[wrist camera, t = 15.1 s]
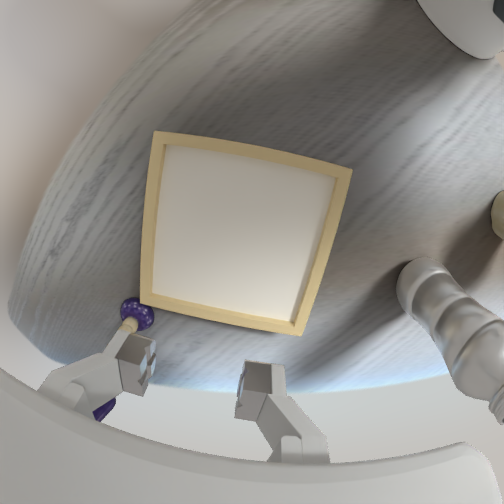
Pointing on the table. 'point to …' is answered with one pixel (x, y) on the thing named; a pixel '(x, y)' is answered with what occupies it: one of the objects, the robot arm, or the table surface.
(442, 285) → the plastic bottle
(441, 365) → the table surface
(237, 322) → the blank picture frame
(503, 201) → the flower pot
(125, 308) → the toy lamp
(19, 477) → the robot arm
